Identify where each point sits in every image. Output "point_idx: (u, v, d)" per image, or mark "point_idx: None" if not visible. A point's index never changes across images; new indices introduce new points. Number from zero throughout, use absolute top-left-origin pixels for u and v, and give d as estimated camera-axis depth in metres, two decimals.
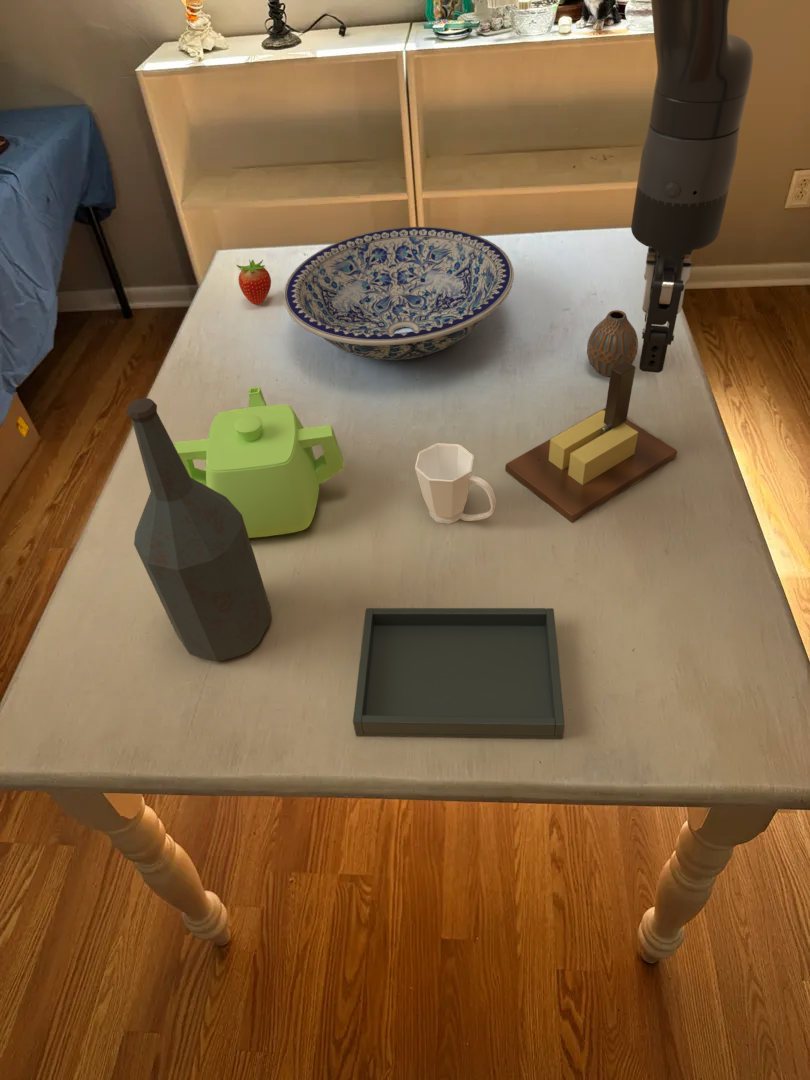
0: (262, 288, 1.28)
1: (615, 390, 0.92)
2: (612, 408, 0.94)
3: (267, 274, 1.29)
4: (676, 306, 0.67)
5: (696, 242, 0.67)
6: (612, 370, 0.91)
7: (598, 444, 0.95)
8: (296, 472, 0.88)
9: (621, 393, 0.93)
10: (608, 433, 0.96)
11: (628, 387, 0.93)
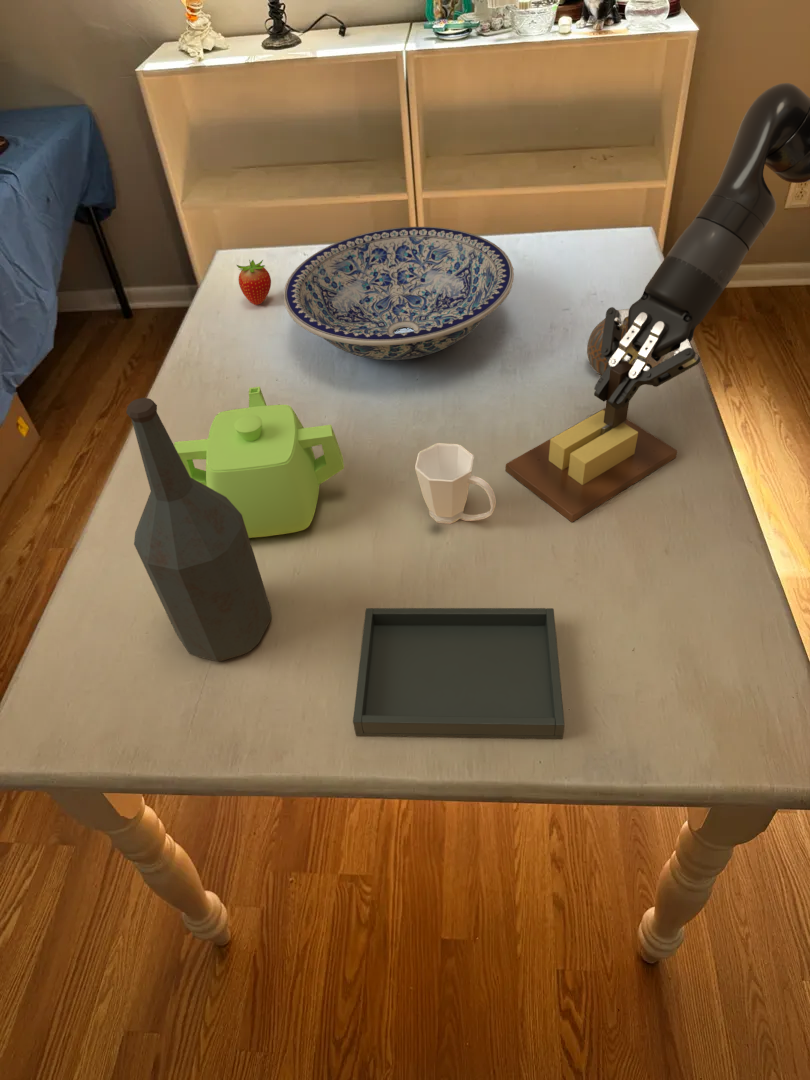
0: (262, 288, 1.28)
1: (614, 390, 0.92)
2: (612, 408, 0.94)
3: (267, 274, 1.29)
4: (684, 370, 0.89)
5: (703, 318, 0.89)
6: (611, 370, 0.91)
7: (598, 444, 0.95)
8: (296, 472, 0.88)
9: None
10: (608, 433, 0.96)
11: None
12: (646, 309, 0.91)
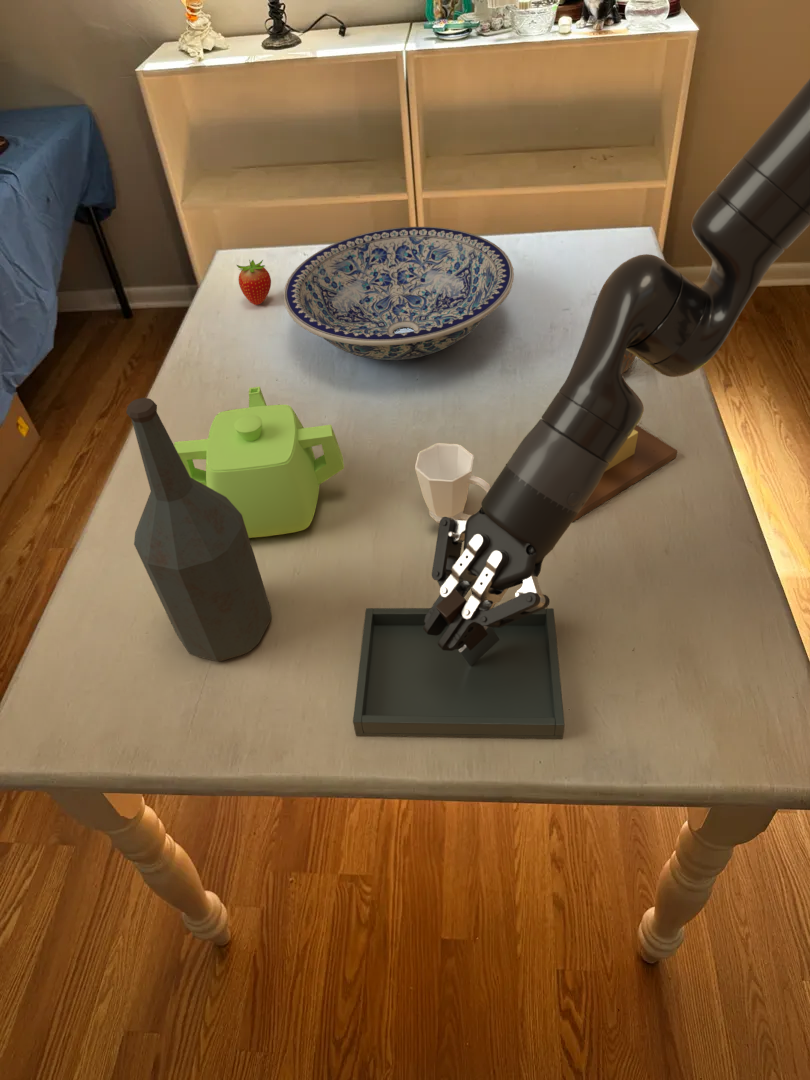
0: (262, 288, 1.28)
1: None
2: None
3: (267, 274, 1.29)
4: (530, 613, 0.68)
5: (555, 544, 0.68)
6: (437, 609, 0.70)
7: None
8: (296, 472, 0.88)
9: None
10: None
11: None
12: (484, 528, 0.70)
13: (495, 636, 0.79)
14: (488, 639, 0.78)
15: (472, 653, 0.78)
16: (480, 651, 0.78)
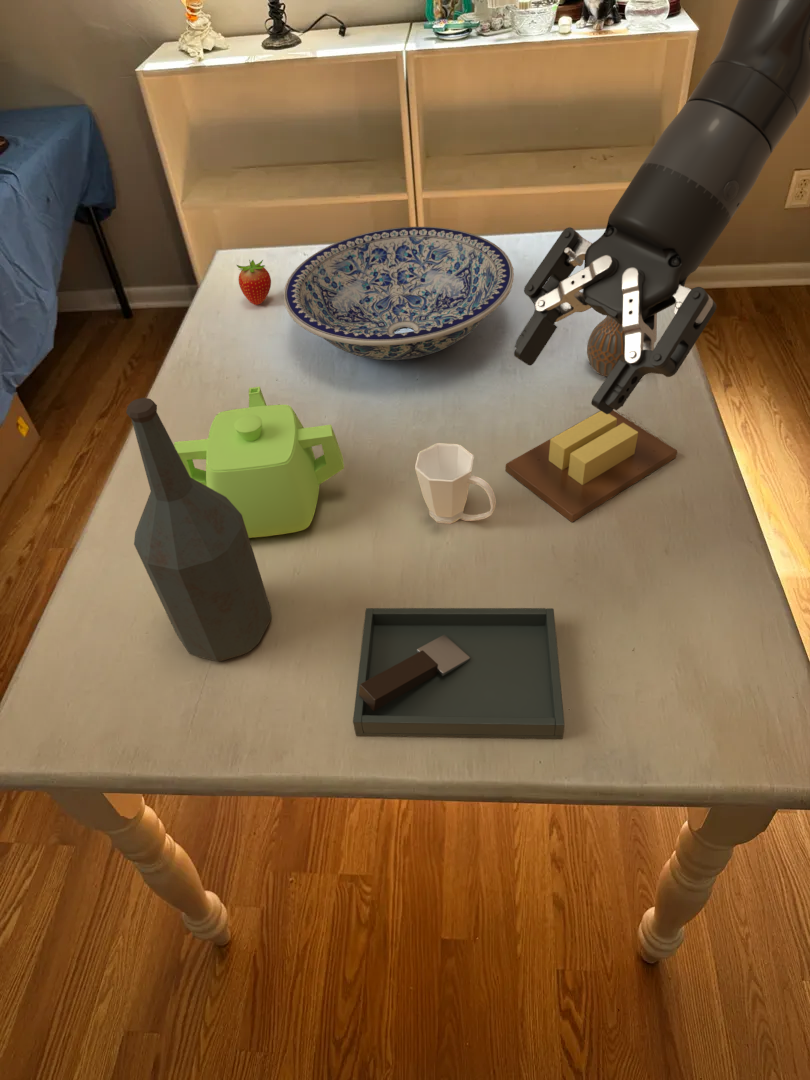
0: (262, 288, 1.28)
1: (395, 691, 0.75)
2: (416, 680, 0.76)
3: (267, 274, 1.29)
4: (702, 328, 0.55)
5: (699, 264, 0.57)
6: (375, 709, 0.74)
7: (598, 444, 0.95)
8: (296, 472, 0.88)
9: (396, 683, 0.75)
10: (608, 433, 0.96)
11: (385, 677, 0.75)
12: (611, 251, 0.58)
13: (437, 639, 0.81)
14: (437, 646, 0.80)
15: (451, 659, 0.79)
16: (451, 651, 0.80)
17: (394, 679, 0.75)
